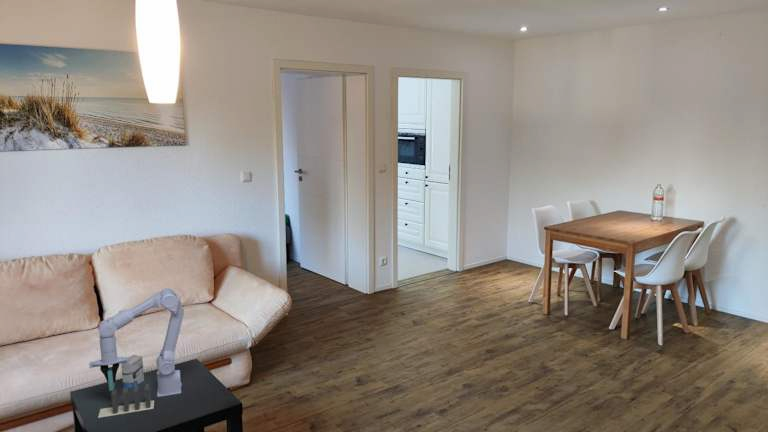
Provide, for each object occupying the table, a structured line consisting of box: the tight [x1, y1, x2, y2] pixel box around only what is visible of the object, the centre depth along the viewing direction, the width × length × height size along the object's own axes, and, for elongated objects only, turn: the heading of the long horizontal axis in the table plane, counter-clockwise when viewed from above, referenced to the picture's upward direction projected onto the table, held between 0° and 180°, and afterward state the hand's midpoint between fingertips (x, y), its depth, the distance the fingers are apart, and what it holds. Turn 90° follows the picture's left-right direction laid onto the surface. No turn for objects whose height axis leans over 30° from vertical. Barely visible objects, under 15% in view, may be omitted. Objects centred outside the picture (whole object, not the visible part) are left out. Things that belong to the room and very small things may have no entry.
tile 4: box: [133, 384, 141, 410], centre depth 225 cm, size 2×5×8 cm, turn 20°
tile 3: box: [122, 387, 130, 412], centre depth 224 cm, size 2×5×8 cm, turn 20°
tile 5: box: [144, 383, 152, 408], centre depth 226 cm, size 2×5×8 cm, turn 20°
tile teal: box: [108, 366, 116, 392], centre depth 227 cm, size 2×5×8 cm, turn 20°
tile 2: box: [110, 388, 120, 414], centre depth 222 cm, size 2×5×8 cm, turn 20°
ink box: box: [120, 354, 145, 390], centre depth 245 cm, size 8×5×12 cm, turn 168°
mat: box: [97, 400, 155, 419], centre depth 224 cm, size 20×7×1 cm, turn 110°
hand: (111, 381), depth 227 cm, fingers closed on tile teal, 1 cm apart
